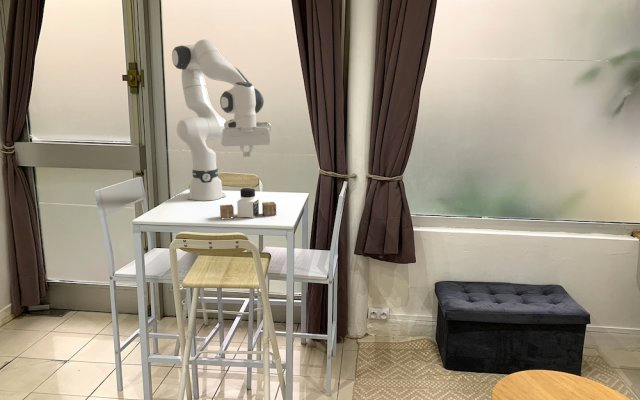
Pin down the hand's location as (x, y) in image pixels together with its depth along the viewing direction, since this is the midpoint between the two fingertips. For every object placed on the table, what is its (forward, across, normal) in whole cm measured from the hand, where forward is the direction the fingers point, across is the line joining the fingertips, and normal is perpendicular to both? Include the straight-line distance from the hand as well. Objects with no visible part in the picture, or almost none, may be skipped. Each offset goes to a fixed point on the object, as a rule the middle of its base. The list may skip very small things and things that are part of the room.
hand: (246, 156), depth 223 cm
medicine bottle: (+26, 0, 0) cm, 26 cm away
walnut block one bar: (+26, +9, 0) cm, 27 cm away
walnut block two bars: (+26, -9, 0) cm, 27 cm away
